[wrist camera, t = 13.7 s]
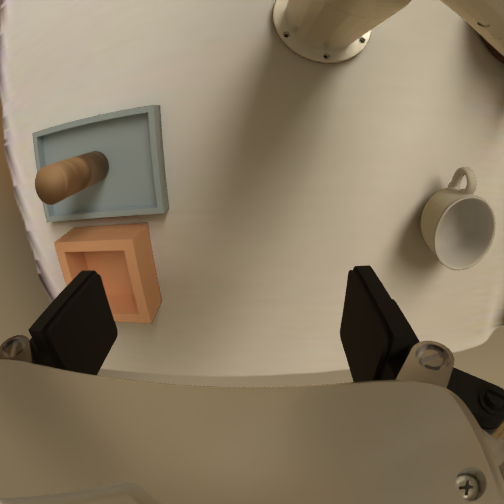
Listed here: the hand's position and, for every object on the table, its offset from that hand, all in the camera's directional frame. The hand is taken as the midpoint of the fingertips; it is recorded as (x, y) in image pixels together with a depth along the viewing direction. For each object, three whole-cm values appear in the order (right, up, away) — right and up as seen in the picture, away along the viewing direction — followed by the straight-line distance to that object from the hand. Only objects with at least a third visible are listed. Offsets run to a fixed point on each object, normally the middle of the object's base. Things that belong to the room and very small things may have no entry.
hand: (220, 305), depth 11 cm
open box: (-20, 0, +34) cm, 39 cm away
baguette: (-20, +14, +26) cm, 36 cm away
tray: (-20, +14, +27) cm, 37 cm away
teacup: (+30, +9, +29) cm, 42 cm away
